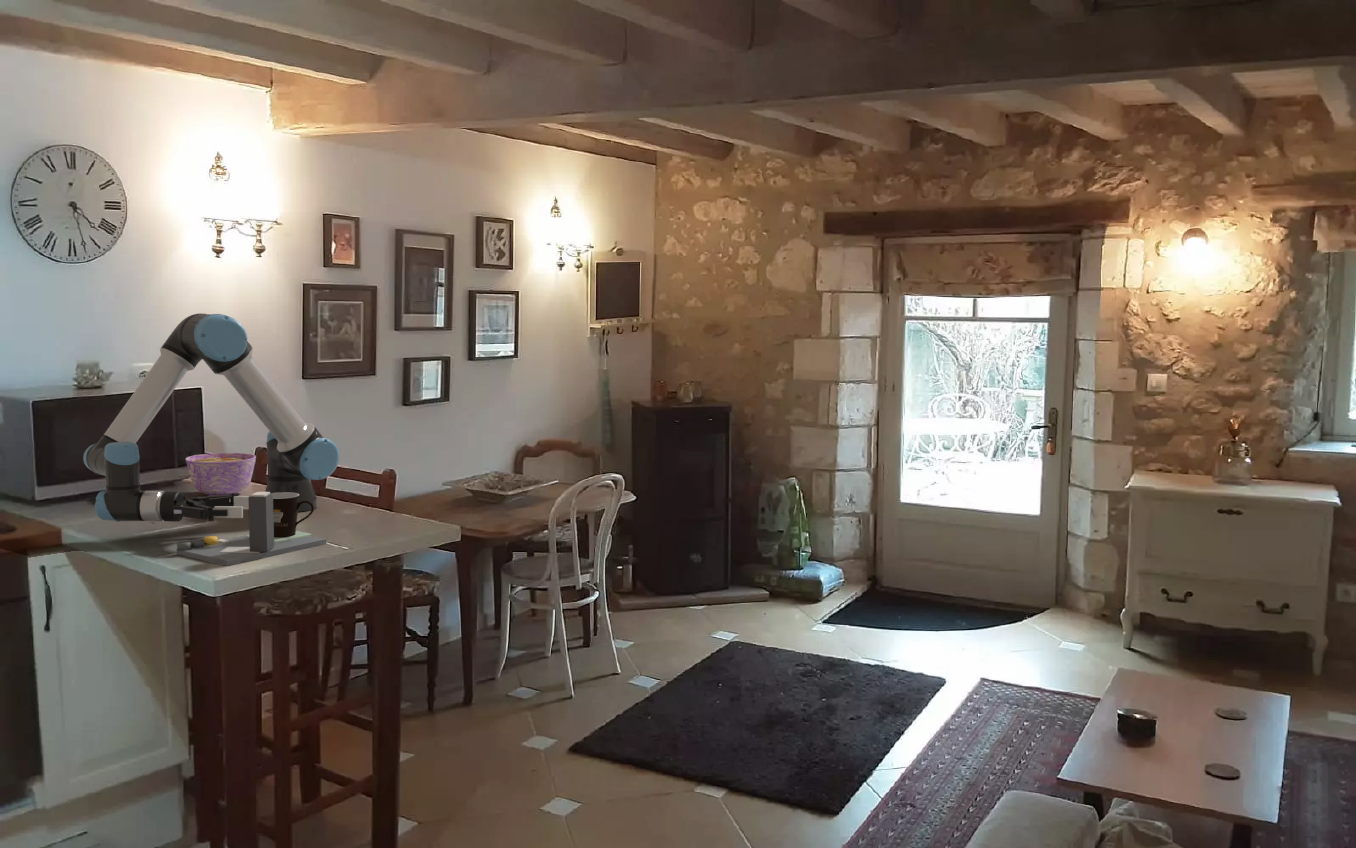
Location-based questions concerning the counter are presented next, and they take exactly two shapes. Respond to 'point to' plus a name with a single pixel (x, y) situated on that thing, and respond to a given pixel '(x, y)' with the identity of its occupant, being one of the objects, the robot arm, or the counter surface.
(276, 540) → the pad
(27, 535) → the counter surface
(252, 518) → the lever
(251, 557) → the panel board
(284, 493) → the coffee mug
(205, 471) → the bowl of food
